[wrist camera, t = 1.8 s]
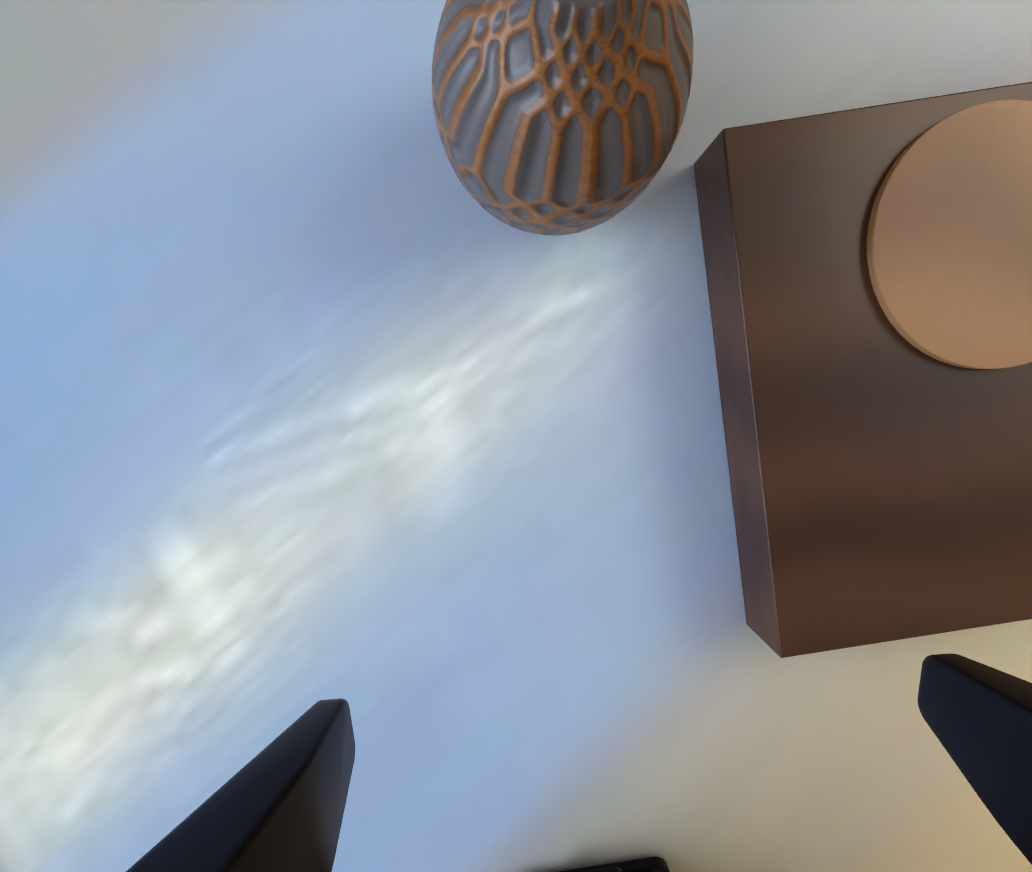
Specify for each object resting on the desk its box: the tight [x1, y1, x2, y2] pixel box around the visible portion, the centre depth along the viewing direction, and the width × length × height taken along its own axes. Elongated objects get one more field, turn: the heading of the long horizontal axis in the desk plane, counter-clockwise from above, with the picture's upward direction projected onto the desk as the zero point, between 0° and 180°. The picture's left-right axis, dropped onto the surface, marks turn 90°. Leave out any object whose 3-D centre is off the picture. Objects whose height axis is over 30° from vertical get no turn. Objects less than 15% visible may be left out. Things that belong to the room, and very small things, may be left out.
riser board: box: [694, 82, 1032, 658], centre depth 17 cm, size 17×12×3 cm
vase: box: [432, 0, 693, 235], centre depth 14 cm, size 7×7×9 cm
